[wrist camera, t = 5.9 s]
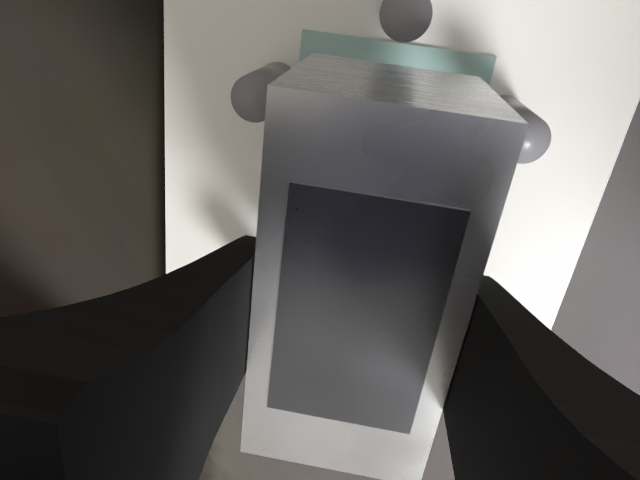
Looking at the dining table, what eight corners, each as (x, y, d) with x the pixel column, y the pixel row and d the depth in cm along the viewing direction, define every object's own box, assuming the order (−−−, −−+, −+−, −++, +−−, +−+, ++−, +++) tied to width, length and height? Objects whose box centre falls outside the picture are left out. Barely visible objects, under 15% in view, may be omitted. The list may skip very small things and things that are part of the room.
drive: (479, 76, 12) (529, 124, 8) (411, 346, 16) (418, 488, 11) (312, 53, 12) (266, 85, 8) (283, 323, 16) (239, 453, 11)
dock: (663, -9, 14) (754, -13, 11) (518, 382, 20) (545, 464, 17) (177, -72, 15) (109, -96, 12) (176, 320, 21) (131, 384, 18)
